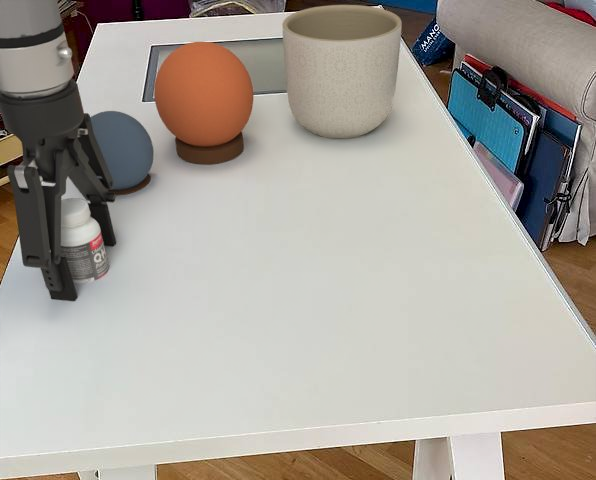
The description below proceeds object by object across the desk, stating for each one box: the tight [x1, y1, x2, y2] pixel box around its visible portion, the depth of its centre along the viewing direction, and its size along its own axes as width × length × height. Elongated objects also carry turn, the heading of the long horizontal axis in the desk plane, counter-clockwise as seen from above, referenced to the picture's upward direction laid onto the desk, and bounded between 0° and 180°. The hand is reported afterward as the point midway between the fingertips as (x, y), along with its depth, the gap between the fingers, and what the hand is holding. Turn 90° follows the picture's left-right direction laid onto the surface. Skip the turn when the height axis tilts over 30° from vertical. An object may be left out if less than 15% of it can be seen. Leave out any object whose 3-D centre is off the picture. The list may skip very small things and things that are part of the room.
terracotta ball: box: [153, 40, 254, 165], centre depth 103 cm, size 14×14×15 cm
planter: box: [282, 4, 403, 139], centre depth 108 cm, size 17×17×15 cm
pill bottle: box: [61, 197, 110, 285], centre depth 80 cm, size 5×5×10 cm
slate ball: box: [90, 110, 154, 196], centre depth 95 cm, size 10×10×11 cm
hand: (88, 280), depth 83 cm, fingers open, 10 cm apart
